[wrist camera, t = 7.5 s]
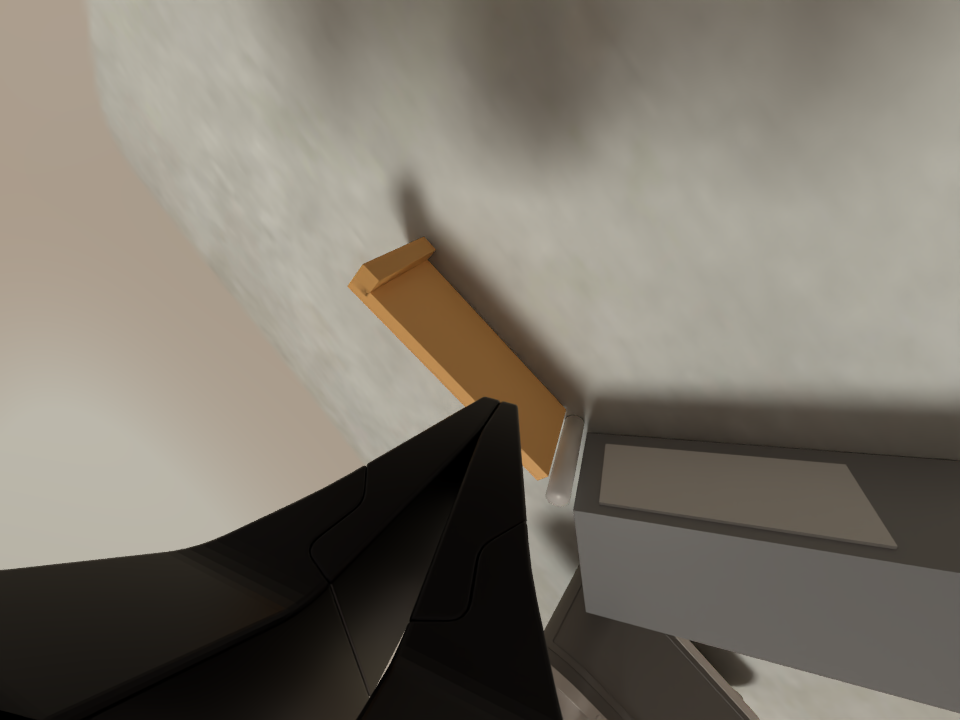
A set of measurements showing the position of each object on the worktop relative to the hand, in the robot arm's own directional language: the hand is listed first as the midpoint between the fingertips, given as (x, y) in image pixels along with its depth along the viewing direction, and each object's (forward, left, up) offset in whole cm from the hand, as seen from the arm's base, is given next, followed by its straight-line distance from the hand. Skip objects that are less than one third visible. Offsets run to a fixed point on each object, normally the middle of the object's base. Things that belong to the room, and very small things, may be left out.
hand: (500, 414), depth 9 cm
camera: (-2, +26, -9) cm, 27 cm away
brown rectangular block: (+3, +2, -9) cm, 10 cm away
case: (-8, +12, -9) cm, 17 cm away
